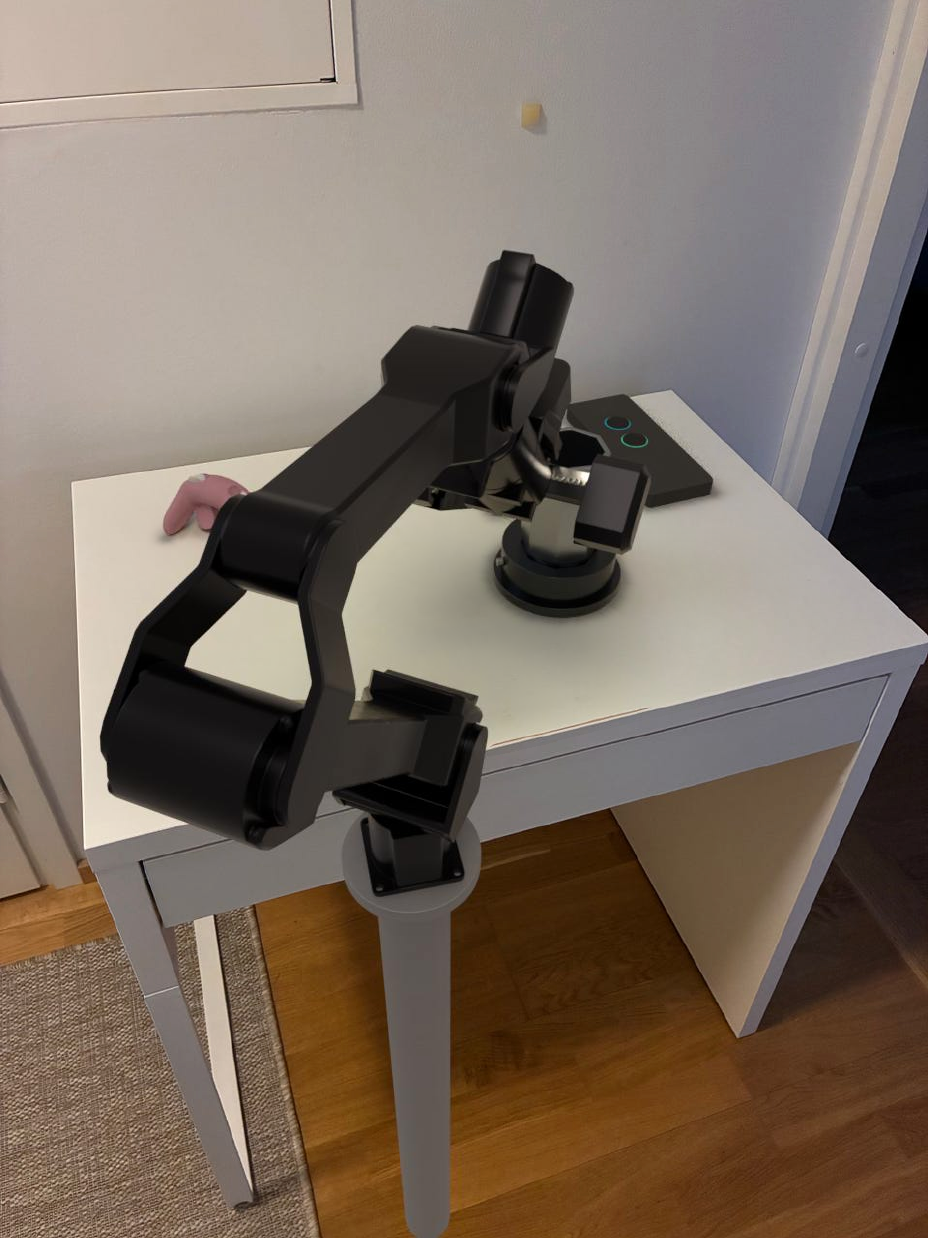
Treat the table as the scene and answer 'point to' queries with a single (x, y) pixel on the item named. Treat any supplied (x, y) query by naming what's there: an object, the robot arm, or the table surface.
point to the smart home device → (642, 447)
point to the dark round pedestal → (553, 579)
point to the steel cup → (562, 504)
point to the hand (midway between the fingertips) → (532, 513)
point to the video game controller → (200, 501)
